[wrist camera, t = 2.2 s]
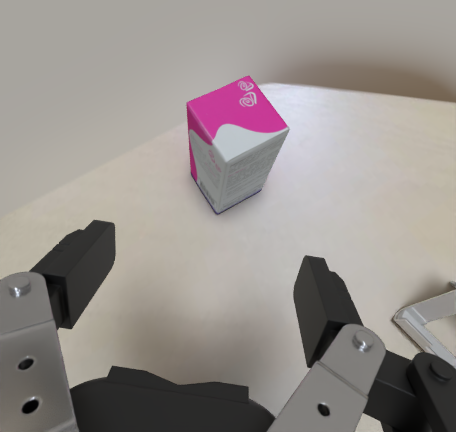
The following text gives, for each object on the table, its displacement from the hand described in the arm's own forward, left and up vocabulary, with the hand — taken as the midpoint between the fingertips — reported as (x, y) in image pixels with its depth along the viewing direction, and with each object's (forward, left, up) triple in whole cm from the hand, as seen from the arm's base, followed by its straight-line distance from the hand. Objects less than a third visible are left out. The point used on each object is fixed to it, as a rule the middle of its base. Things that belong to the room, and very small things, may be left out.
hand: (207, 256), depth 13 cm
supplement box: (+1, +11, -17) cm, 21 cm away
